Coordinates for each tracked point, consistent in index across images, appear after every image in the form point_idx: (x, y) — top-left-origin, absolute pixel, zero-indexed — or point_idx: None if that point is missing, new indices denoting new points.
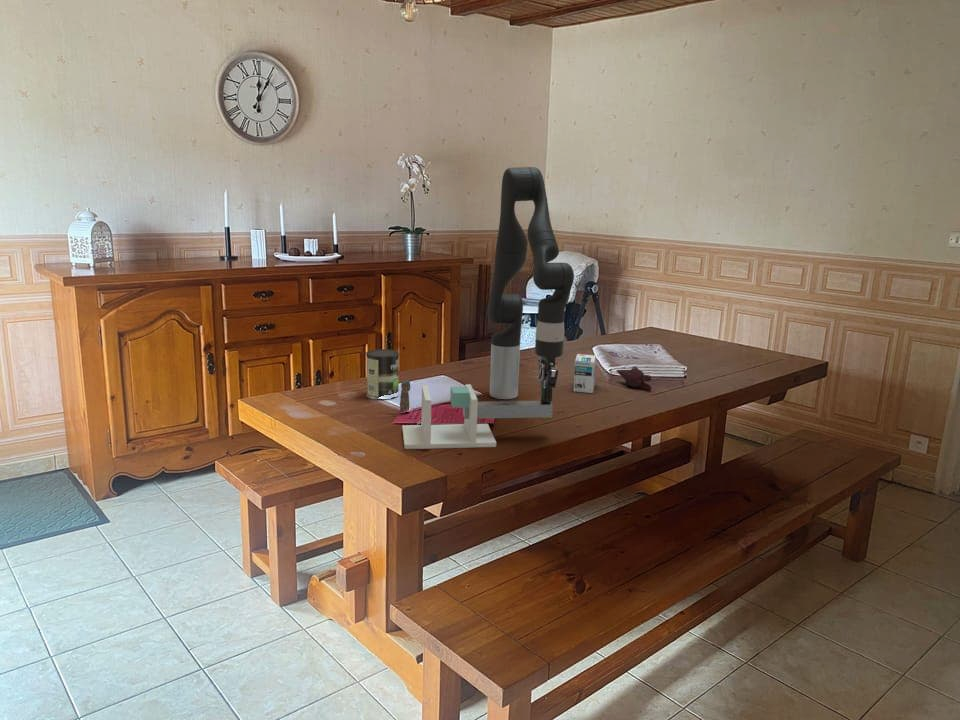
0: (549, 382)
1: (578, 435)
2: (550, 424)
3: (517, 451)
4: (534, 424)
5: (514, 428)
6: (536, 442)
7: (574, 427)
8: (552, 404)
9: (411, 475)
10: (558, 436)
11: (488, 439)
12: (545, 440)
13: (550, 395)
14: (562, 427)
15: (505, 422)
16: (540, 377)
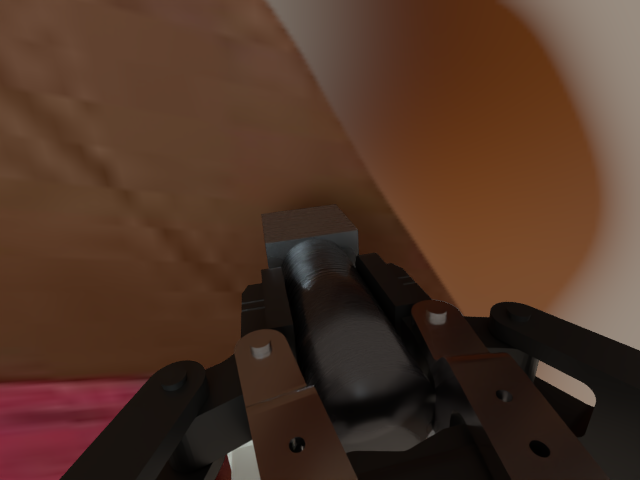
0: (420, 368)
1: (272, 32)
2: (118, 156)
3: (433, 299)
4: (137, 233)
5: (208, 310)
6: (360, 238)
7: (142, 23)
8: (354, 231)
9: None
10: (291, 141)
11: None
12: (340, 203)
13: (413, 286)
14: (156, 98)
15: (137, 343)
16: (222, 459)
